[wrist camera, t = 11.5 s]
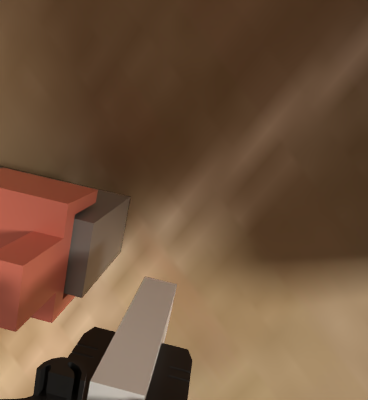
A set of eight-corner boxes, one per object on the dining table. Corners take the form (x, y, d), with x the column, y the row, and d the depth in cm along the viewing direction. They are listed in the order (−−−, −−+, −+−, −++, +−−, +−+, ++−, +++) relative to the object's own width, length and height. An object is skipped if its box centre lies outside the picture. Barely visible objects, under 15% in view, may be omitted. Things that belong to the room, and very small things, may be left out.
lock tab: (97, 190, 20) (27, 223, 13) (82, 288, 22) (11, 368, 14) (4, 167, 21) (-116, 188, 13) (-5, 266, 22) (-117, 333, 15)
